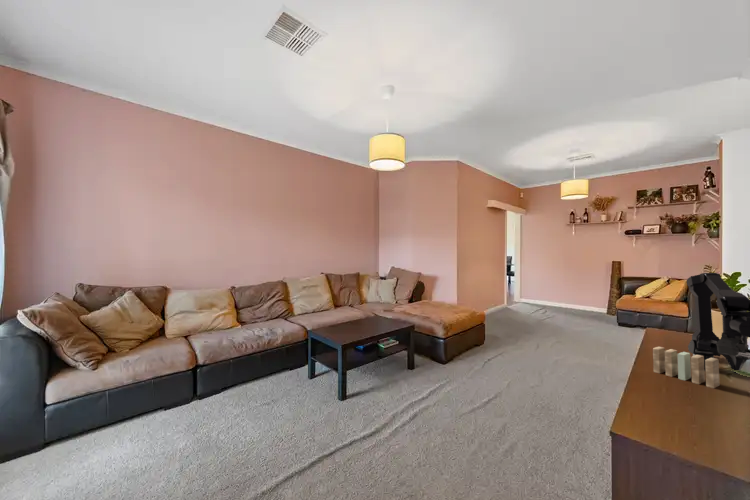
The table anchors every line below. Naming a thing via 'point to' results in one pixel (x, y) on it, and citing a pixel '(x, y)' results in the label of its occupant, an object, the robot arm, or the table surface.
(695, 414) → the table surface
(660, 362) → the domino
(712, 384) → the domino
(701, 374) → the domino
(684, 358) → the domino
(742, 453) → the table surface
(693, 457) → the table surface
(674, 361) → the domino
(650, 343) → the table surface
